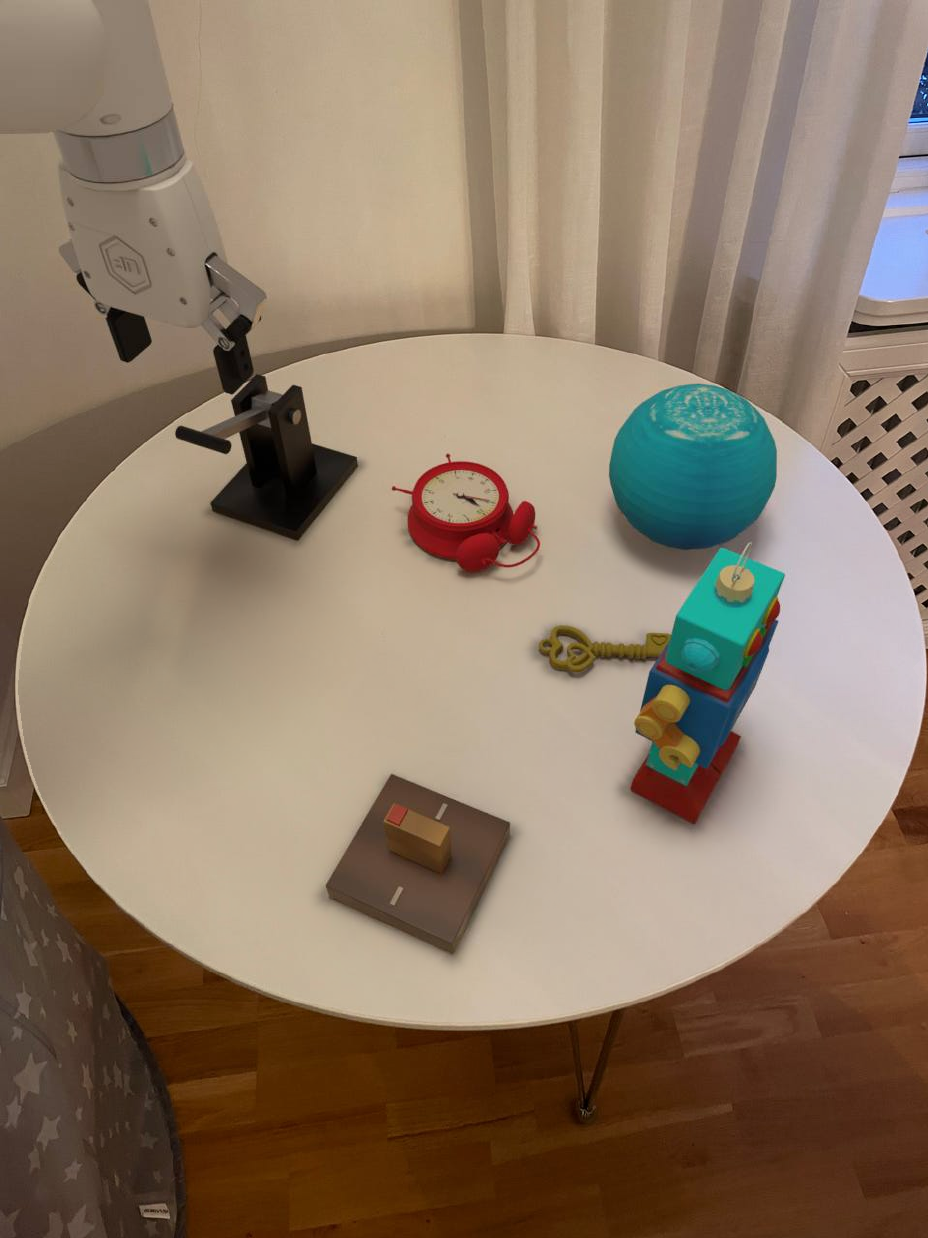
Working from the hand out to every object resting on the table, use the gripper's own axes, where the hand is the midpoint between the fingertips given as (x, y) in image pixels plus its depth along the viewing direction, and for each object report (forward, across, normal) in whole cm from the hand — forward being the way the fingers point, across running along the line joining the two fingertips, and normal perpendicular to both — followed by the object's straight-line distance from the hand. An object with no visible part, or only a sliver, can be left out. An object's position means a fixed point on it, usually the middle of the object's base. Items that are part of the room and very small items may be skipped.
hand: (187, 367), depth 72 cm
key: (+22, +36, +4) cm, 42 cm away
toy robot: (+22, +44, -4) cm, 50 cm away
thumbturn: (+20, +30, -21) cm, 41 cm away
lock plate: (+22, +30, -21) cm, 42 cm away
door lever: (+11, -1, +5) cm, 13 cm away
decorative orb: (+22, +36, +22) cm, 48 cm away
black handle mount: (+22, -2, +10) cm, 24 cm away
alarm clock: (+22, +18, +12) cm, 31 cm away
